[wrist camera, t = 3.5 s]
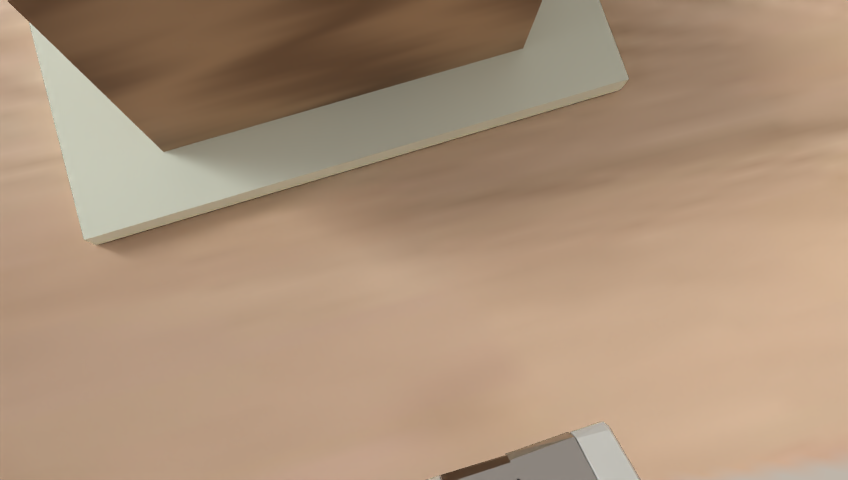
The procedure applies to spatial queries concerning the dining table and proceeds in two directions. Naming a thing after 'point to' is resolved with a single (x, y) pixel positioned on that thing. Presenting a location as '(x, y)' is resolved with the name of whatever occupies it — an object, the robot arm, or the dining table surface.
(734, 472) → the dining table surface
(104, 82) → the t block
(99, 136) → the board
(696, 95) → the dining table surface
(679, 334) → the dining table surface
